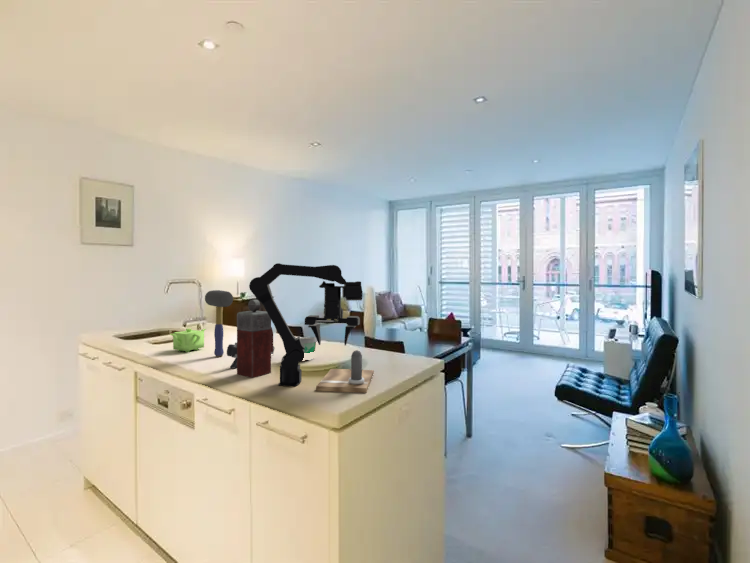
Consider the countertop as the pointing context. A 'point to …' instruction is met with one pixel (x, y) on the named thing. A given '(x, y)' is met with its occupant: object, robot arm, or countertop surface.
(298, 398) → the countertop surface
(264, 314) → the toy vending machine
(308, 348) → the food container
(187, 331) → the teapot
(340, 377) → the board
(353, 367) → the grey domed cylinder
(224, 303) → the rubber mallet
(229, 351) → the gun
